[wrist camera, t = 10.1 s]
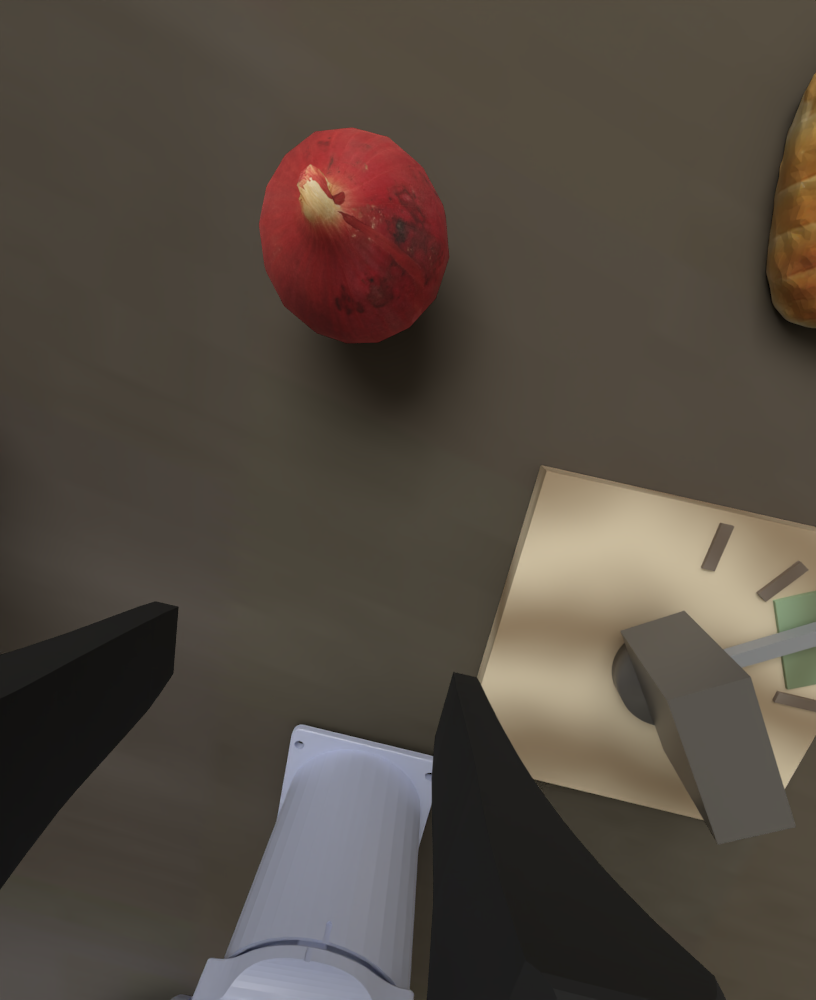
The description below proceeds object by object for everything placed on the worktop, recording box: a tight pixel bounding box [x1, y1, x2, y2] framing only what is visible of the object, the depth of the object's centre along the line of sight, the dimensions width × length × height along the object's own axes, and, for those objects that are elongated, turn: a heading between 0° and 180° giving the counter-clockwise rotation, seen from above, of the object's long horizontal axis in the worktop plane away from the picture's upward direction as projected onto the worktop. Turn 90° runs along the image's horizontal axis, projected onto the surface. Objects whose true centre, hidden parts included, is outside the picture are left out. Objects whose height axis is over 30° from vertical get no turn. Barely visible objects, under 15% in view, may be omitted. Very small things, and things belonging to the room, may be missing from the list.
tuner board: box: [477, 465, 816, 820], centre depth 21 cm, size 15×15×1 cm
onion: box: [259, 128, 449, 343], centre depth 14 cm, size 6×6×8 cm
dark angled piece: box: [612, 611, 816, 844], centre depth 17 cm, size 10×6×5 cm, turn 114°
